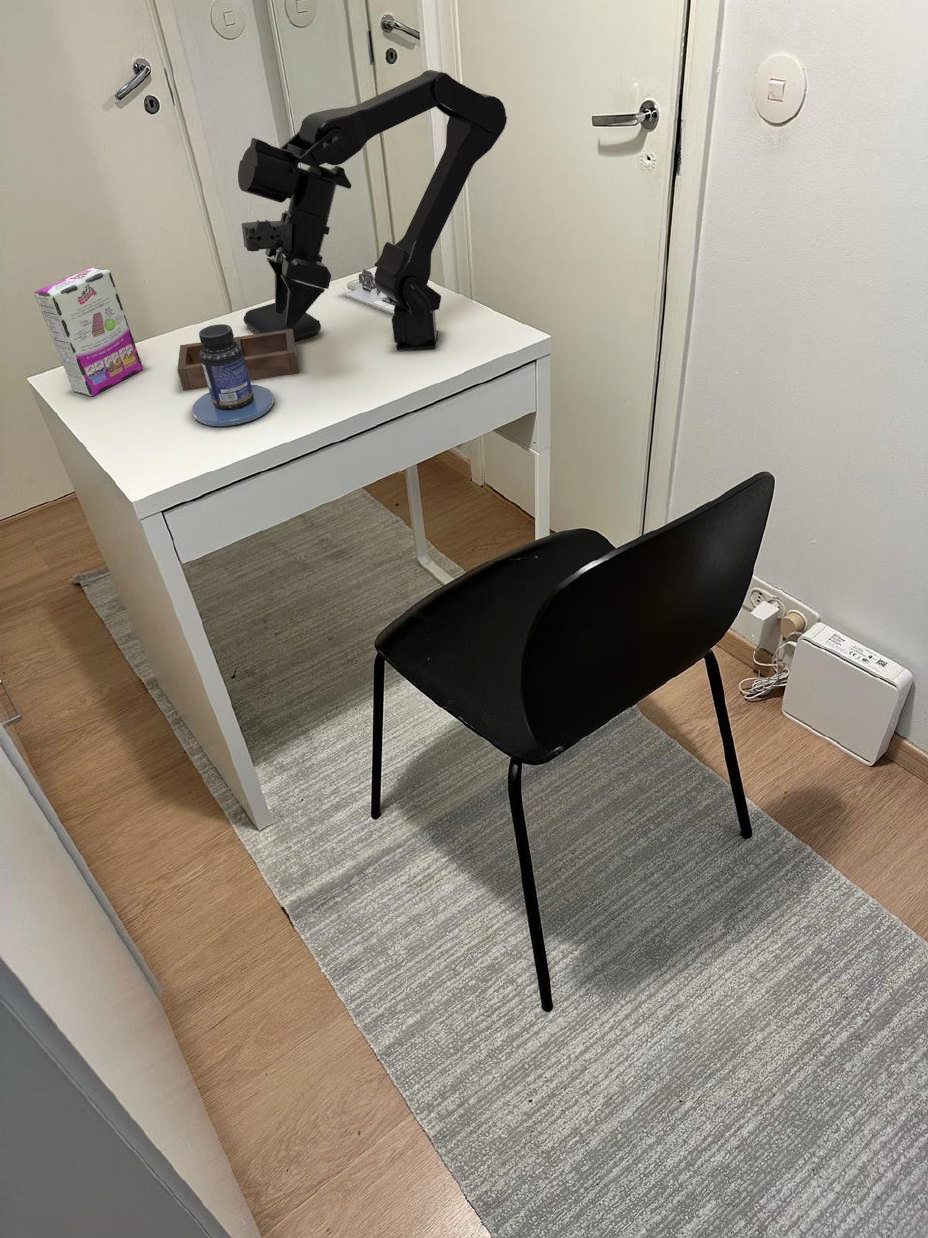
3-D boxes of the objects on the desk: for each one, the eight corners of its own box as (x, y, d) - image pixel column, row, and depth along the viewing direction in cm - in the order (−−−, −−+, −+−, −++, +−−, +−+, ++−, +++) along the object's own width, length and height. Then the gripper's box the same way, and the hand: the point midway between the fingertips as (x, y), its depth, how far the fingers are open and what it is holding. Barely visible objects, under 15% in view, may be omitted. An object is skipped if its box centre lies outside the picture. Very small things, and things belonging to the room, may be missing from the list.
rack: (296, 348, 151) (292, 328, 148) (299, 372, 143) (295, 351, 141) (185, 365, 149) (180, 344, 147) (183, 390, 141) (177, 369, 139)
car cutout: (344, 296, 168) (340, 271, 165) (373, 285, 171) (369, 261, 168) (394, 315, 159) (390, 289, 156) (422, 303, 162) (420, 278, 159)
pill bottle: (262, 395, 135) (245, 324, 128) (237, 413, 131) (218, 341, 124) (230, 389, 138) (212, 319, 131) (204, 407, 134) (184, 335, 127)
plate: (282, 389, 139) (280, 382, 138) (263, 426, 130) (262, 419, 129) (207, 391, 140) (205, 385, 140) (183, 429, 131) (181, 422, 131)
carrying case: (332, 334, 154) (295, 310, 164) (329, 317, 152) (292, 294, 162) (275, 352, 150) (241, 326, 160) (272, 334, 148) (237, 309, 158)
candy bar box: (124, 364, 151) (90, 265, 140) (144, 369, 149) (112, 269, 138) (70, 392, 144) (31, 290, 133) (91, 397, 142) (53, 294, 131)
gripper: (243, 185, 132) (222, 291, 138) (263, 202, 117) (238, 321, 124) (316, 209, 137) (292, 310, 143) (344, 228, 122) (316, 341, 129)
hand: (283, 319), depth 135 cm, fingers open, 9 cm apart
